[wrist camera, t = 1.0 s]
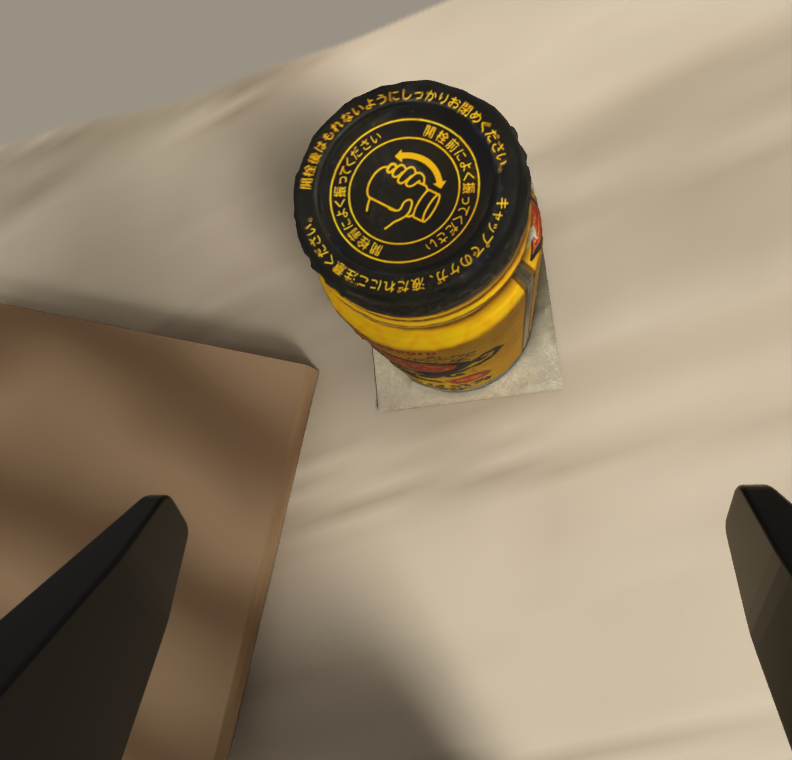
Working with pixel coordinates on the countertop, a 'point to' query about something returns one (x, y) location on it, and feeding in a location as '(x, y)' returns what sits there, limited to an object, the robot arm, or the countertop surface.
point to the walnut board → (153, 492)
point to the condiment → (431, 244)
